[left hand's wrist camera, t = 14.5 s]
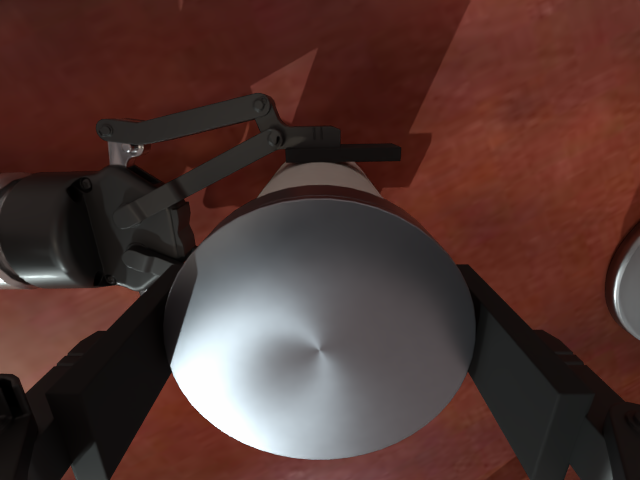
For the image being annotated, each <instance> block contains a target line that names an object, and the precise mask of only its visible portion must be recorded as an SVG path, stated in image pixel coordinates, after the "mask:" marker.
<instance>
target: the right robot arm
mask: <svg viewBox="0 0 640 480" xmlns="http://www.w3.org/2000/svg"><path fill="white" fill-rule="evenodd" d="M251 120H256V123H257V125H258V127H259V130H260V132H261V133H260V134H258V135H256V136H254V137H252V138H250V139H248V140H247V141H245V142H243V143H241V144H239V145H237V146H235V147H234V148H232V149H230V150H228V151H226V152H224V153H222V154H221V155H219V156H217V157H215V158H213V159H211V160H209V161H208V162H206V163H204V164H202V165H200V166H198V167H196V168H195V169H193V170H191V171H189V172H187V173H185V174H183V175H182V176H180V177H178V178H176V179H174V180H172V181H170V182H168V183H166V184H165V183H163V182H162V181H160V180H158V179H157V178H155V177H154V176H152V175H150V174H149V173H147V172H146V171H144V170H142V169H141V168H139V167H138V166H136V165H134V161H135V159H136V158H137V157H138V156H141V155H145V154H147V153H148V152H149V151H150V148H151V143H156V142H162V141H168V140H173V139H177V138H181V137H185V136H189V135H193V134H197V133H201V132H206V131H210V130H214V129H218V128H222V127H226V126H230V125H234V124H238V123H242V122H246V121H251ZM96 131H97V134H98V135H99V137H100V138H102V139H103V140H105V141H108V150H109V161H110V165H109V166H106V167H105V168H103V169H102V170H100V171H84V172H40V173H35V174H31V173H25V172H20V173H0V289H36V288H49V289H51V288H97V287H105V286H112V285H119V286H123V287H126V288H129V289H131V290H134V291H139V293H140V296H141V295H142V294H143V293H144V292H145V291H146V290H147V289H148V288H149V287H150V286H151V285H152V284H153V283H154V282H155V281H156V280H157V279H158V278H159V277H160V276H161V275H162V274H163V273H164V272H165V271H166V270H167V269H168V268H169V267H170V266H171V265H183V264H184V262H185V261H186V260H187V258H188V257H189V256H190V255H191V254H192V252H193V251H194V250H195V249H196V248H197V247H198V246H196V245H195V239H194V234H193V232H192V229H191V227H190V225H189V220H190V207H189V202H185V200H184V198H186V197H188V196H190V195H192V194H194V193H195V192H197V191H199V190H201V189H203V188H205V187H207V186H209V185H211V184H213V183H215V182H216V181H218V180H220V179H222V178H224V177H226V176H228V175H230V174H232V173H234V172H235V171H237V170H239V169H241V168H243V167H245V166H247V165H249V164H251V163H253V162H254V161H256V160H258V159H260V158H262V157H264V156H266V155H268V154H270V153H272V152H273V151H275V150H278V149H285V151H286V163H311V162H370V161H400V159H401V147H399V146H397V145H394V144H392V143H389V144H340V129H338V128H336V127H333V126H288V125H286V124H285V123H283V121H282V120H281V118H280V116H279V114H278V111H277V109H276V106H275V102H274V100H273V99H272V98H271V97H270V96H268V95H265V94H262V93H255V94H251V95H247V96H243V97H239V98H235V99H231V100H227V101H223V102H219V103H215V104H211V105H207V106H203V107H199V108H195V109H191V110H187V111H183V112H179V113H175V114H171V115H167V116H163V117H159V118H155V119H151V120H147V121H145V120H137V119H129V118H127V119H101V120H100V121H98V123H97V124H96Z"/></svg>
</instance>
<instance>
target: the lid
mask: <svg viewBox="0 0 640 480" xmlns="http://www.w3.org/2000/svg"><path fill="white" fill-rule="evenodd" d="M163 334H164V346H165V350H166V355H167V360H168V363H169V365H170V368H171V371H172V373H173V376H174V378H175V380H176V381H177V383H178V385H179V387H180V389H181V390H182V392H183V393H184V395H185V396H186V397H187V399H188V400H189V401H190V403H191V404H192V405H193V406H194V407H195V408H196V409H197V410H198V411H199V413H200V414H201V415H202V416H203V417H205V418H206V419H207V420H208V421H209V422H211V423H212V424H213V425H214V426H215V427H217V428H218V429H220V430H221V431H223V432H224V433H226V434H227V435H229V436H231V437H233V438H235V439H236V440H238V441H240V442H242V443H244V444H247V445H249V446H252V447H254V448H257V449H259V450H262V451H266V452H269V453H273V454H276V455H281V456H286V457H292V458H300V459H311V460H326V459H339V458H348V457H353V456H358V455H364V454H367V453H370V452H374V451H377V450H380V449H383V448H385V447H388V446H390V445H393V444H395V443H397V442H399V441H401V440H403V439H405V438H407V437H409V436H410V435H412V434H414V433H415V432H417V431H418V430H419V429H421V428H422V427H424V426H425V425H427V424H428V423H429V422H430V421H431V420H432V419H434V418H435V417H436V416H437V415H438V414H439V413H440V412H441V411H442V410H443V409H444V408H445V406H446V405H447V404H448V403H449V402H450V401H451V399H452V398H453V396H454V395H455V394H456V392H457V391H458V389H459V388H460V386H461V384H462V382H463V380H464V378H465V376H466V374H467V372H468V369H469V366H470V363H471V360H472V357H473V352H474V347H475V341H476V319H475V311H474V305H473V301H472V298H471V295H470V291H469V288H468V286H467V284H466V282H465V280H464V278H463V276H462V274H461V272H460V270H459V268H458V267H457V266H456V264H455V263H454V261H453V260H452V258H451V257H450V256H449V254H448V253H447V252H446V251H445V250H444V249H443V248H442V247H441V246H440V244H439V243H438V242H437V241H436V240H435V239H434V238H433V237H432V236H431V235H430V234H429V232H428V231H427V230H426V229H425V228H424V227H423V226H422V225H421V224H420V223H419V222H418V221H417V220H416V219H414V218H413V217H412V216H411V215H409V214H408V213H407V212H405V211H404V210H403V209H401V208H400V207H398V206H396V205H394V204H393V203H391V202H389V201H387V200H386V199H383V198H381V197H378V196H376V195H373V194H371V193H368V192H365V191H361V190H357V189H353V188H349V187H342V186H334V185H304V186H297V187H290V188H286V189H282V190H278V191H275V192H271V193H268V194H266V195H263V196H261V197H259V198H256V199H254V200H252V201H250V202H248V203H247V204H245V205H243V206H242V207H240V208H238V209H236V210H235V211H234V212H232V213H231V214H230V215H229V216H227V217H226V218H225V219H224V220H222V221H221V222H220V223H219V224H218V225H217V226H216V228H215V229H214V230H213V231H212V232H211V233H210V234H209V235H208V236H207V237H206V238H205V239H204V241H203V242H202V243H201V244H200V245H199V246H198V247H197V248H196V249H195V250H194V251H193V252H192V254H191V255H190V256H189V257H188V258H187V260H186V261H185V263H184V264H183V266H182V267H181V269H180V270H179V272H178V274H177V276H176V278H175V280H174V282H173V284H172V287H171V289H170V292H169V295H168V299H167V302H166V306H165V313H164V321H163Z"/></svg>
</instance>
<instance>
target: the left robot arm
mask: <svg viewBox="0 0 640 480" xmlns="http://www.w3.org/2000/svg"><path fill="white" fill-rule="evenodd" d="M182 266H183V265H171V266H170V267H169V268H168V269H167V270H166V271H165V272H164V273H163V274H162V275H161V276H160V277H159V278H158V279H157V280H156V281H155V282H154V283H153V284H152V285H151V286H150V287H149V288H148V289H147V290H146V291H145V292H144V293H143V294H142V295H141V296H140V297H139V298H138V299H137V300H136V301H135V302H134V303H133V304H132V305H131V306H130V307H129V309H128V310H127V311H126V312H125V313H124V314H123V315H122V316H121V317H120V318H119V319H118V320H117V321H116V322H115V323H114V324H113V325H112V326H111V327H110V328H109V329H108V330H107V331H97V332H95V333H94V334H92V335H90V336H89V337H87V338H85V339H84V340H82V341H80V342H79V343H78V344H77V345H76V346H75V347H74V348H73V349H72V350H71V351H70V352H69V353H68V355H67V356H65V357H64V358H62V359H61V360H60V361H59V362H58V363H57V366H54V367H53V368H52V369H51V370H50V371H49V372H48V373H47V374H46V375H45V376H43V377H42V378H41V379H40V380H39V381H38V382H37V383H36V384H35V385H34V386H33V387H32V388H31V389H30V390H29V391H28V392H27V393H26V394H25V392H24V390H23V387H22V385H21V382H20V380H19V378H18V377H17V376H15V375H13V374H0V480H60V479H61V478H62V477H63V475H64V474H65V472H66V471H67V470H68V468H69V467H70V465H71V467H72V470H73V472H74V475H75V478H76V480H110V478H111V477H112V475H113V473H114V472H115V470H116V468H117V466H118V465H119V463H120V461H121V459H122V458H123V456H124V454H125V452H126V451H127V449H128V447H129V445H130V444H131V442H132V440H133V438H134V437H135V435H136V433H137V431H138V430H139V428H140V426H141V425H142V423H143V421H144V419H145V418H146V416H147V414H148V412H149V411H150V409H151V407H152V405H153V404H154V402H155V400H156V398H157V397H158V395H159V393H160V391H161V390H162V388H163V386H164V385H165V383H166V381H167V379H168V378H169V376H170V374H171V372H172V371H171V368H170V365H169V363H168V360H167V355H166V350H165V346H164V334H163V321H164V313H165V306H166V302H167V299H168V295H169V292H170V289H171V287H172V284H173V282H174V280H175V278H176V276H177V274H178V272H179V270H180V269H181V267H182ZM456 266H457V267H458V268H459V270H460V272H461V274H462V276H463V278H464V280H465V282H466V284H467V286H468V288H469V291H470V295H471V298H472V301H473V305H474V311H475V319H476V341H475V347H474V352H473V357H472V360H471V363H470V366H469V369H468V372H469V374H470V376H471V378H472V379H473V381H474V383H475V385H476V386H477V388H478V390H479V391H480V393H481V395H482V397H483V398H484V400H485V402H486V404H487V405H488V407H489V409H490V411H491V412H492V414H493V416H494V418H495V419H496V421H497V423H498V425H499V426H500V428H501V430H502V431H503V433H504V435H505V437H506V438H507V440H508V442H509V444H510V445H511V447H512V449H513V451H514V452H515V454H516V456H517V458H518V459H519V461H520V463H521V465H522V466H523V468H524V470H525V471H526V473H527V475H528V477H529V478H530V480H564V478H565V475H566V472H567V470H568V467H569V464H570V465H571V466H572V468H573V469H574V470H575V472H576V473H577V475H578V476H579V477H580V479H581V480H640V405H639V404H634V403H630V402H625V401H624V400H623V399H622V398H621V397H620V396H618V395H617V394H616V393H615V392H614V391H613V390H612V389H611V388H610V387H609V386H608V385H607V384H606V383H605V382H604V381H603V380H602V379H600V378H599V377H598V376H597V375H596V374H595V373H594V372H593V371H592V370H591V369H590V368H589V367H588V366H587V365H584V364H583V362H582V361H581V360H580V359H579V358H578V357H577V356H576V355H573V352H572V351H571V350H570V349H569V348H568V347H567V346H565V345H564V344H563V343H562V342H561V341H560V340H559V339H557V338H555V337H554V336H552V335H550V334H548V333H547V332H545V331H543V330H532V329H531V328H530V327H529V326H528V325H527V324H526V323H525V322H524V321H523V320H522V319H521V318H520V317H519V316H518V315H517V314H516V313H515V312H514V311H513V310H512V308H511V307H510V306H509V305H508V304H507V303H506V302H505V301H504V300H503V299H502V298H501V297H500V296H499V295H498V294H497V293H496V292H495V291H494V290H493V289H492V288H491V287H490V286H489V285H488V284H487V283H486V282H485V281H484V280H483V279H482V278H481V277H480V276H479V275H478V274H477V273H476V272H475V271H474V270H473V269H472V268H471V267H470V266H469V265H456ZM605 298H606V303H607V306H608V309H609V311H610V314H611V315H612V317H613V318H614V320H615V321H616V322H617V323H618V324H619V325H620V326H621V327H622V328H623V329H624V330H626V331H627V332H629V333H630V334H631V335H633V336H634V337H636V338H637V339H639V340H640V222H639V223H638V224H637V225H636V226H635V227H634V228H633V229H632V231H631V232H630V233H629V234H628V235H627V236H626V238H625V239H624V240H623V242H622V243H621V245H620V246H619V248H618V250H617V251H616V253H615V255H614V257H613V259H612V261H611V264H610V266H609V269H608V273H607V277H606V282H605Z"/></svg>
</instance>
